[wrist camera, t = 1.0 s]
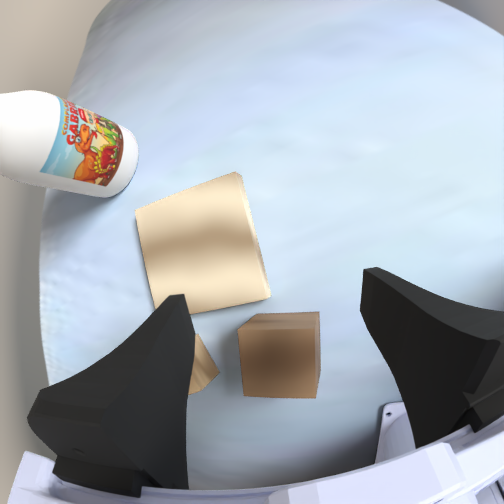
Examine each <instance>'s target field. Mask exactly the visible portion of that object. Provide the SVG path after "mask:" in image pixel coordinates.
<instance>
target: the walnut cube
mask: <svg viewBox="0 0 504 504" xmlns="http://www.w3.org/2000/svg"><path fill="white" fill-rule="evenodd" d="M238 341H239V352H240V362H241V373H242V383H243V393H244V396H251V397H269V398H316V394H317V388H318V383H319V377H320V371H321V359H320V320H319V312H300V313H268V314H256V315H255V316H254V317H252V318H251V319H250V320H249V321H248V322H246V323H245V324H244V325H243V326H241V327H240V328H239V329H238Z"/></svg>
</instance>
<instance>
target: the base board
mask: <svg viewBox="0 0 504 504" xmlns="http://www.w3.org/2000/svg"><path fill="white" fill-rule="evenodd" d="M135 214H136V220H137V226H138V231H139V237H140V242H141V247H142V252H143V257H144V262H145V266H146V271H147V275H148V280H149V284H150V288H151V293H152V297H153V301H154V305H155V309H157V308H158V307H159V306H160V304H161V303H162V302H163V301H164V300H165V299H166V298H167V297H168V296H169V295H176V294H184V295H185V299H186V302H187V306H188V310H189V313H190V314H194V313H199V312H205V311H210V310H215V309H220V308H226V307H231V306H236V305H240V304H245V303H250V302H255V301H260V300H264V299H268V298H269V297H270V296H271V292H270V288H269V284H268V280H267V276H266V272H265V268H264V264H263V260H262V255H261V251H260V247H259V243H258V239H257V235H256V231H255V227H254V223H253V219H252V215H251V211H250V208H249V204H248V200H247V196H246V192H245V188H244V184H243V180H242V176H241V175H240V174H238V173H237V172H233V173H230V174H227V175H224V176H221V177H218V178H216V179H213V180H210V181H207V182H205V183H202V184H199V185H197V186H194V187H191V188H189V189H186V190H183V191H181V192H178V193H176V194H173V195H171V196H168V197H166V198H163V199H161V200H158V201H156V202H153V203H151V204H148V205H146V206H144V207H141V208H139V209H137V210H135Z"/></svg>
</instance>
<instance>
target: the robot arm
mask: <svg viewBox="0 0 504 504" xmlns="http://www.w3.org/2000/svg"><path fill="white" fill-rule="evenodd" d="M360 312H361V314H362V317H363V320H364V322H365V324H366V327H367V329H368V331H369V333H370V335H371V336H372V338H373V340H374V341H375V343H376V345H377V347H378V348H379V350H380V352H381V354H382V355H383V357H384V359H385V361H386V362H387V364H388V366H389V368H390V370H391V372H392V374H393V376H394V378H395V381H396V383H397V386H398V388H399V391H400V394H401V397H402V399H403V402H396V403H388V404H386V405H385V406H384V408H383V415H382V422H381V429H380V436H379V442H378V448H377V454H376V459H375V464H374V465H371V466H367V467H364V468H360V469H357V470H353V471H350V472H346V473H342V474H338V475H333V476H329V477H325V478H320V479H315V480H311V481H306V482H300V483H294V484H287V485H280V486H272V487H263V488H252V489H237V490H189V486H188V475H187V458H186V408H187V399H188V393H189V387H190V380H191V375H192V369H193V362H194V356H195V331H194V327H193V324H192V320H191V317H190V313H189V310H188V306H187V302H186V299H185V295H184V294H176V295H169V296H168V297H167V298H166V299H165V300H164V301H163V302H162V303H161V304H160V306H159V307H158V308H157V309H156V310H155V311H154V312H153V313H152V314H151V315H150V316H149V317H148V319H147V320H146V321H145V322H144V323H143V324H142V325H141V326H140V327H139V328H138V329H137V330H136V331H135V332H134V333H133V334H131V335H130V336H129V337H128V338H127V339H126V340H125V341H124V342H123V343H122V344H120V345H119V346H118V347H117V348H115V349H114V350H113V351H112V352H110V353H109V354H108V355H106V356H105V357H103V358H102V359H100V360H99V361H97V362H96V363H94V364H93V365H91V366H90V367H88V368H87V369H85V370H83V371H81V372H79V373H78V374H76V375H74V376H72V377H70V378H68V379H66V380H64V381H61V382H59V383H56V384H54V385H52V386H49V387H47V388H44V389H42V390H40V392H39V394H38V396H37V398H36V400H35V402H34V404H33V406H32V408H31V410H30V412H29V415H28V417H27V419H28V423H29V426H30V427H31V429H32V430H33V431H34V433H35V434H36V435H37V436H38V437H39V438H40V439H41V440H42V441H43V442H44V443H45V444H46V445H47V446H48V447H49V448H50V449H51V450H53V452H55V453H56V454H57V455H58V456H57V459H56V462H54V461H53V460H51V459H49V458H46V457H44V456H41V455H37V454H35V453H31V452H29V451H25V452H24V455H23V458H22V460H21V463H20V466H19V468H18V471H17V474H16V477H15V480H14V483H13V486H12V489H11V492H10V496H9V499H8V504H504V312H501V311H494V310H488V309H482V308H478V307H474V306H470V305H465V304H462V303H459V302H455V301H453V300H450V299H447V298H444V297H441V296H439V295H436V294H434V293H432V292H429V291H427V290H425V289H423V288H420V287H418V286H416V285H414V284H412V283H410V282H408V281H406V280H404V279H402V278H400V277H398V276H396V275H394V274H392V273H390V272H388V271H385V270H383V269H381V268H378V267H374V268H368V269H364V270H363V283H362V294H361V304H360ZM388 412H391V413H390V414H389V415H386V414H387V413H388Z"/></svg>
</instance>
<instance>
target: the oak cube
mask: <svg viewBox="0 0 504 504" xmlns="http://www.w3.org/2000/svg"><path fill="white" fill-rule="evenodd" d="M219 373H220V372H219V370H218V368H217V367H216V365H215V363H214V361H213V360H212V358H211V356H210V354H209V353H208V351H207V349H206V347H205V345H204V344H203V342H202V340H201V338H200V336H199V334H197V335H195V356H194V362H193V369H192V375H191V380H190V387H189V393H188V395H190V394H193V393H196V392H199V391H201V390H202V389H204V388H205V387H206V386H207V385H208V384H209V383H210V382H211V381H212V380H213V379H214V378H215V377H216V376H217V375H218V374H219Z"/></svg>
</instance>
